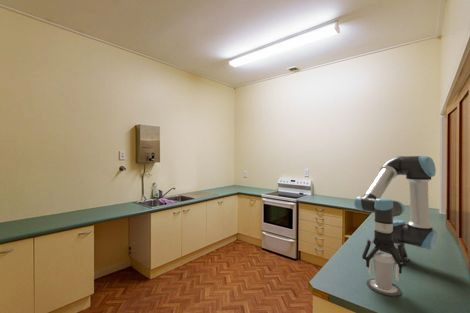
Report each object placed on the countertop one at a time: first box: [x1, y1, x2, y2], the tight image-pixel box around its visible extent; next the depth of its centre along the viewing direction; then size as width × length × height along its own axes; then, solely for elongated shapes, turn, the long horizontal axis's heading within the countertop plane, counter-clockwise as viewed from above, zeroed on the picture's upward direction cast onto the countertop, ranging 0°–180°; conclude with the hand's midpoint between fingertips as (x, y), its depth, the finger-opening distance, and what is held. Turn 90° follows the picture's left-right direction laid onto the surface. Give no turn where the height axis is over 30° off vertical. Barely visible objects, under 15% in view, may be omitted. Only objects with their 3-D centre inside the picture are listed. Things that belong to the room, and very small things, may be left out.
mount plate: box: [366, 278, 402, 297], centre depth 109 cm, size 14×14×1 cm
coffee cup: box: [371, 250, 396, 290], centre depth 109 cm, size 10×10×15 cm
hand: (383, 276), depth 109 cm, fingers open, 10 cm apart
